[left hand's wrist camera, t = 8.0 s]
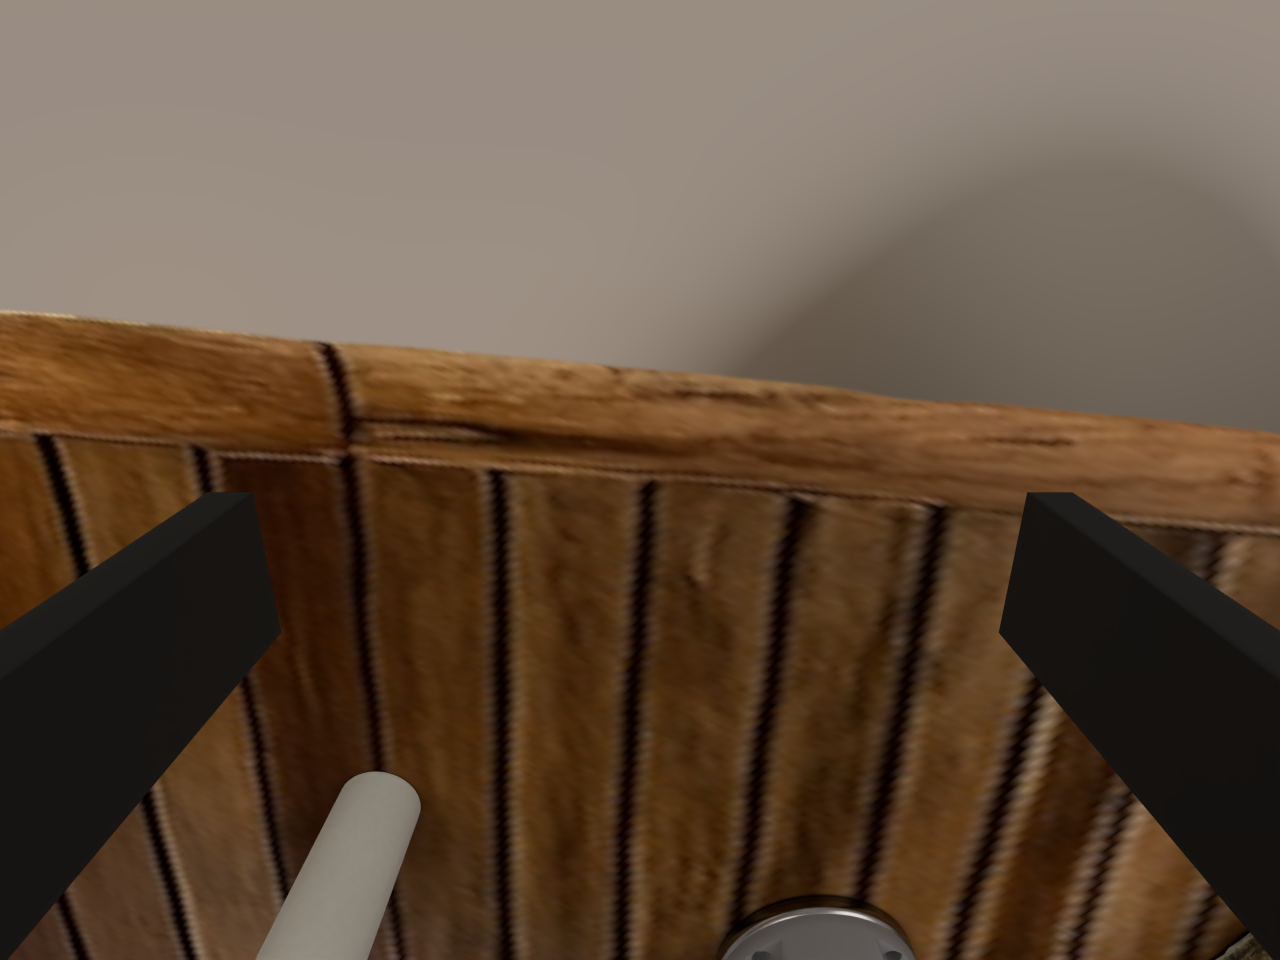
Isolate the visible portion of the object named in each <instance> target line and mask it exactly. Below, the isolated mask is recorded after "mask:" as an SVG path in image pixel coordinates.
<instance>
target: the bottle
mask: <svg viewBox="0 0 1280 960" xmlns="http://www.w3.org/2000/svg"><path fill="white" fill-rule="evenodd" d="M420 809H421V805H420V799H419V797H418V794H417V793H416V791H415V790H414V788H413V787H412V786H411V785H410V784H409V783H408V782H406V781H405V780H403V779H402V778H400V777H398V776H396V775H393V774H390V773H385V772H366V773H362V774H359V775H357V776H355V777H353V778H352V779H350V780H349V781H348V782H347V783H346V784H345V785H344V787H343V788H342V790H341V792H340V794H339V796H338V798H337V800H336V802H335V804H334V806H333V808H332V810H331V812H330V814H329V816H328V818H327V820H326V822H325V823H324V825H323V827H322V829H321V831H320V833H319V835H318V837H317V839H316V841H315V843H314V845H313V847H312V849H311V851H310V853H309V855H308V857H307V859H306V861H305V863H304V865H303V867H302V869H301V871H300V873H299V875H298V877H297V879H296V880H295V882H294V884H293V886H292V888H291V890H290V892H289V894H288V896H287V898H286V900H285V902H284V904H283V906H282V908H281V910H280V912H279V914H278V916H277V918H276V920H275V922H274V924H273V926H272V928H271V930H270V932H269V934H268V935H267V937H266V939H265V941H264V943H263V945H262V947H261V949H260V951H259V953H258V955H257V957H256V959H255V960H367V958H368V956H369V953H370V950H371V947H372V945H373V942H374V939H375V936H376V934H377V931H378V928H379V925H380V922H381V920H382V917H383V914H384V911H385V909H386V906H387V903H388V900H389V898H390V895H391V892H392V889H393V886H394V884H395V881H396V878H397V875H398V873H399V870H400V867H401V864H402V862H403V859H404V856H405V853H406V850H407V848H408V845H409V842H410V839H411V837H412V834H413V831H414V828H415V826H416V823H417V820H418V817H419V814H420Z"/></svg>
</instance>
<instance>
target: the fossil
mask: <svg viewBox="0 0 1280 960" xmlns="http://www.w3.org/2000/svg"><path fill="white" fill-rule="evenodd" d="M1216 960H1273V959H1272V958H1271V957H1270V956H1269V955H1268V954H1267V952H1266V951H1265V950H1264V949H1263V948H1262V946H1261V945H1260V944H1259V943H1258V942H1257V940H1256V939H1255V938H1254V937H1253V936H1252V934H1251V933H1249V934H1248V935H1246V936H1245V937H1244V938H1242V939H1241V940H1240V941H1239V942H1237V943H1236V944H1234V945H1233V946H1231V947H1229V948H1228V950H1227V951H1226V953H1225V954H1224V955H1223V956H1221V957H1219V958H1218V959H1216Z"/></svg>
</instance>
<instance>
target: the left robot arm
mask: <svg viewBox="0 0 1280 960" xmlns="http://www.w3.org/2000/svg"><path fill="white" fill-rule="evenodd" d="M280 633H281V630H280V625H279V620H278V615H277V610H276V605H275V600H274V595H273V590H272V585H271V580H270V575H269V570H268V566H267V561H266V556H265V551H264V546H263V541H262V536H261V531H260V526H259V521H258V516H257V511H256V506H255V502H254V497H253V492H207V493H206V494H204V495H203V496H201V497H200V498H198V499H197V500H195V501H194V502H192V503H191V504H189V505H188V506H186V507H185V508H183V509H182V510H181V511H179V512H178V513H176V514H175V515H173V516H172V517H170V518H169V519H167V520H166V521H164V522H163V523H161V524H160V525H158V526H157V527H155V528H154V529H152V530H151V531H149V532H148V533H146V534H145V535H143V536H142V537H140V538H139V539H137V540H136V541H134V542H133V543H131V544H130V545H128V546H127V547H125V548H124V549H122V550H121V551H119V552H118V553H116V554H115V555H113V556H112V557H110V558H109V559H107V560H106V561H104V562H103V563H101V564H100V565H98V566H97V567H95V568H94V569H92V570H91V571H89V572H88V573H86V574H85V575H83V576H82V577H80V578H79V579H77V580H76V581H74V582H73V583H71V584H70V585H68V586H67V587H65V588H64V589H62V590H61V591H59V592H58V593H56V594H55V595H53V596H52V597H50V598H49V599H47V600H46V601H44V602H43V603H41V604H40V605H38V606H37V607H35V608H34V609H32V610H31V611H29V612H28V613H26V614H25V615H23V616H22V617H20V618H19V619H17V620H16V621H14V622H13V623H11V624H10V625H8V626H7V627H5V628H4V629H2V630H1V631H0V960H7V959H8V958H9V957H10V956H11V955H12V954H13V952H14V951H15V950H16V949H17V948H18V946H19V945H20V944H21V943H22V942H23V940H24V939H25V938H26V937H27V936H28V934H29V933H30V932H31V931H32V930H33V928H34V927H35V926H36V925H37V924H38V922H39V921H40V920H41V919H42V918H43V916H44V915H45V914H46V913H47V912H48V910H49V909H50V908H51V907H52V906H53V905H54V903H55V902H56V901H57V900H58V899H59V897H60V896H61V895H62V894H63V893H64V891H65V890H66V889H67V888H68V887H69V885H70V884H71V883H72V882H73V881H74V879H75V878H76V877H77V876H78V875H79V873H80V872H81V871H82V870H83V869H84V867H85V866H86V865H87V864H88V863H89V862H90V860H91V859H92V858H93V857H94V856H95V854H96V853H97V852H98V851H99V850H100V848H101V847H102V846H103V845H104V844H105V842H106V841H107V840H108V839H109V838H110V836H111V835H112V834H113V833H114V832H115V830H116V829H117V828H118V827H119V826H120V824H121V823H122V822H123V821H124V820H125V818H126V817H127V816H128V815H129V814H130V813H131V811H132V810H133V809H134V808H135V807H136V805H137V804H138V803H139V802H140V801H141V799H142V798H143V797H144V796H145V795H146V793H147V792H148V791H149V790H150V789H151V787H152V786H153V785H154V784H155V783H156V781H157V780H158V779H159V778H160V777H161V775H162V774H163V773H164V772H165V771H166V769H167V768H168V767H169V766H170V765H171V764H172V762H173V761H174V760H175V759H176V758H177V756H178V755H179V754H180V753H181V752H182V750H183V749H184V748H185V747H186V746H187V744H188V743H189V742H190V741H191V740H192V738H193V737H194V736H195V735H196V734H197V732H198V731H199V730H200V729H201V728H202V726H203V725H204V724H205V723H206V722H207V721H208V719H209V718H210V717H211V716H212V715H213V713H214V712H215V711H216V710H217V709H218V707H219V706H220V705H221V704H222V703H223V701H224V700H225V699H226V698H227V697H228V695H229V694H230V693H231V692H232V691H233V689H234V688H235V687H236V686H237V685H238V683H239V682H240V681H241V680H242V679H243V677H244V676H245V675H246V674H247V673H248V672H249V670H250V669H251V668H252V667H253V666H254V664H255V663H256V662H257V661H258V660H259V658H260V657H261V656H262V655H263V654H264V652H265V651H266V650H267V649H268V648H269V646H270V645H271V644H272V643H273V642H274V640H275V639H276V638H277V637H278V636H279V634H280ZM999 633H1000V634H1001V636H1002V637H1003V638H1004V639H1005V640H1006V642H1007V643H1008V644H1009V645H1010V646H1011V648H1012V649H1013V650H1014V651H1015V652H1016V654H1017V655H1018V656H1019V657H1020V658H1021V660H1022V661H1023V662H1024V663H1025V664H1026V666H1027V667H1028V668H1029V669H1030V670H1031V672H1032V673H1033V674H1034V675H1035V676H1036V677H1037V679H1038V680H1039V681H1040V682H1041V683H1042V685H1043V686H1044V687H1045V688H1046V689H1047V691H1048V692H1049V693H1050V694H1051V695H1052V697H1053V698H1054V699H1055V700H1056V701H1057V703H1058V704H1059V705H1060V706H1061V707H1062V709H1063V710H1064V711H1065V712H1066V713H1067V715H1068V716H1069V717H1070V718H1071V719H1072V721H1073V722H1074V723H1075V724H1076V725H1077V726H1078V728H1079V729H1080V730H1081V731H1082V732H1083V734H1084V735H1085V736H1086V737H1087V738H1088V740H1089V741H1090V742H1091V743H1092V744H1093V746H1094V747H1095V748H1096V749H1097V750H1098V752H1099V753H1100V754H1101V755H1102V756H1103V758H1104V759H1105V760H1106V761H1107V762H1108V764H1109V765H1110V766H1111V767H1112V768H1113V769H1114V771H1115V772H1116V773H1117V774H1118V775H1119V777H1120V778H1121V779H1122V780H1123V781H1124V783H1125V784H1126V785H1127V786H1128V787H1129V789H1130V790H1131V791H1132V792H1133V793H1134V795H1135V796H1136V797H1137V798H1138V799H1139V801H1140V802H1141V803H1142V804H1143V805H1144V807H1145V808H1146V809H1147V810H1148V811H1149V813H1150V814H1151V815H1152V816H1153V817H1154V818H1155V820H1156V821H1157V822H1158V823H1159V824H1160V826H1161V827H1162V828H1163V829H1164V830H1165V832H1166V833H1167V834H1168V835H1169V836H1170V838H1171V839H1172V840H1173V841H1174V842H1175V844H1176V845H1177V846H1178V847H1179V848H1180V850H1181V851H1182V852H1183V853H1184V854H1185V856H1186V857H1187V858H1188V859H1189V860H1190V862H1191V863H1192V864H1193V865H1194V866H1195V867H1196V869H1197V870H1198V871H1199V872H1200V873H1201V875H1202V876H1203V877H1204V878H1205V879H1206V881H1207V882H1208V883H1209V884H1210V885H1211V887H1212V888H1213V889H1214V890H1215V891H1216V893H1217V894H1218V895H1219V896H1220V897H1221V899H1222V900H1223V901H1224V902H1225V903H1226V905H1227V906H1228V907H1229V908H1230V909H1231V910H1232V912H1233V913H1234V914H1235V915H1236V916H1237V918H1238V919H1239V920H1240V921H1241V922H1242V924H1243V925H1244V926H1245V927H1246V928H1247V930H1248V931H1249V932H1250V933H1251V934H1252V936H1253V937H1254V938H1255V939H1256V940H1257V942H1258V943H1259V944H1260V945H1261V946H1262V948H1263V949H1264V950H1265V951H1266V952H1267V954H1268V955H1269V956H1270V957H1271V958H1272V959H1273V960H1280V631H1279V630H1278V629H1276V628H1275V627H1273V626H1272V625H1270V624H1269V623H1267V622H1266V621H1264V620H1263V619H1261V618H1260V617H1258V616H1257V615H1255V614H1254V613H1252V612H1251V611H1249V610H1248V609H1246V608H1245V607H1243V606H1242V605H1240V604H1239V603H1237V602H1236V601H1234V600H1233V599H1231V598H1230V597H1228V596H1227V595H1225V594H1224V593H1222V592H1221V591H1219V590H1218V589H1216V588H1215V587H1213V586H1212V585H1210V584H1209V583H1207V582H1206V581H1204V580H1203V579H1201V578H1200V577H1198V576H1197V575H1195V574H1194V573H1192V572H1191V571H1189V570H1188V569H1186V568H1185V567H1183V566H1182V565H1180V564H1179V563H1177V562H1176V561H1174V560H1173V559H1171V558H1170V557H1168V556H1167V555H1165V554H1164V553H1162V552H1161V551H1159V550H1158V549H1156V548H1155V547H1153V546H1152V545H1150V544H1149V543H1147V542H1146V541H1144V540H1143V539H1141V538H1140V537H1138V536H1137V535H1135V534H1134V533H1132V532H1131V531H1129V530H1128V529H1126V528H1125V527H1123V526H1122V525H1120V524H1119V523H1117V522H1116V521H1114V520H1113V519H1111V518H1110V517H1108V516H1107V515H1105V514H1104V513H1102V512H1101V511H1099V510H1098V509H1097V508H1095V507H1094V506H1092V505H1091V504H1089V503H1088V502H1086V501H1085V500H1083V499H1082V498H1080V497H1079V496H1077V495H1076V494H1074V493H1073V492H1027V497H1026V502H1025V506H1024V511H1023V516H1022V521H1021V526H1020V531H1019V536H1018V541H1017V546H1016V551H1015V556H1014V561H1013V566H1012V570H1011V575H1010V580H1009V585H1008V590H1007V595H1006V600H1005V605H1004V610H1003V615H1002V620H1001V625H1000V630H999ZM716 960H916V957H915V955H914V952H913V949H912V946H911V944H910V941H909V939H908V937H907V935H906V934H905V932H904V931H903V929H902V928H901V927H900V926H899V925H898V924H897V923H896V922H895V921H894V920H893V919H892V918H891V917H889V916H888V915H887V914H885V913H883V912H882V911H880V910H878V909H876V908H874V907H872V906H870V905H867V904H864V903H862V902H858V901H854V900H850V899H845V898H838V897H807V898H799V899H793V900H789V901H785V902H781V903H778V904H775V905H772V906H770V907H768V908H765V909H763V910H761V911H759V912H757V913H755V914H753V915H752V916H750V917H749V918H747V919H746V920H744V921H743V922H742V923H740V924H739V925H738V926H737V927H736V928H735V929H734V930H733V931H732V932H731V933H730V934H729V935H728V936H727V938H726V939H725V941H724V942H723V944H722V945H721V947H720V949H719V952H718V954H717V957H716Z"/></svg>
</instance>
